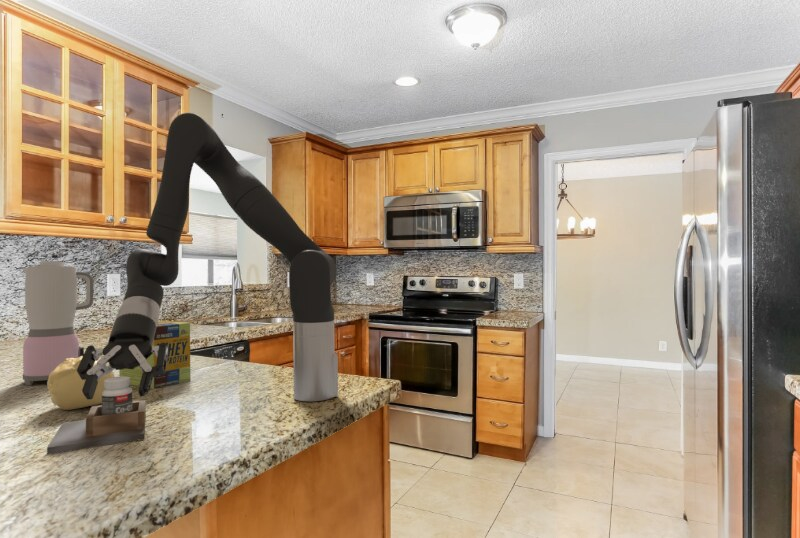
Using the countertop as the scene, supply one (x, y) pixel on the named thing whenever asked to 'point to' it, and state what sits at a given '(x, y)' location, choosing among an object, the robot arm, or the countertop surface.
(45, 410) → the countertop surface
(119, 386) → the pill bottle
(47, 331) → the blender
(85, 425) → the socket dock
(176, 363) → the protein box
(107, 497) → the countertop surface
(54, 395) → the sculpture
